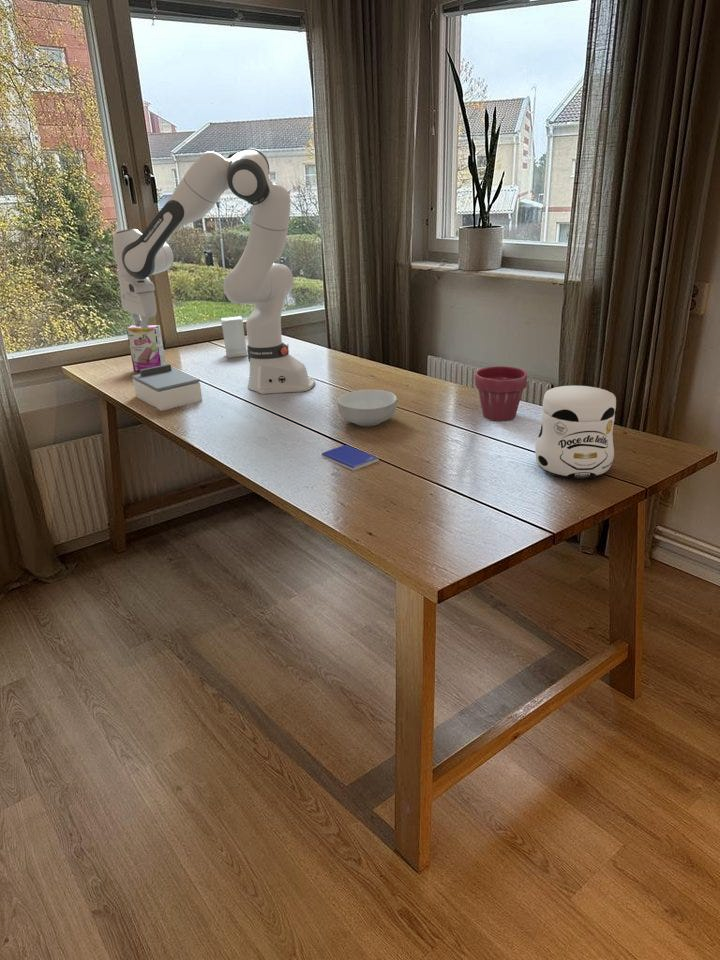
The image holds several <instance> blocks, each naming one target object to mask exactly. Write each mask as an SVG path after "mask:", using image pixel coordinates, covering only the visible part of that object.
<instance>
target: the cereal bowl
mask: <svg viewBox="0 0 720 960" xmlns="http://www.w3.org/2000/svg"><path fill="white" fill-rule="evenodd" d="M397 406H398V398H397V396H396V394H395V393H393V392H391V391H388V390H383V389H370V388H369V389H357V390H354V391H353V390H352V391H349V392H345V393H343V394H342V395H340V396H339V397H337V409H338V413H339V414H340V415H341V417H342V418H343V419H344V420H346V421H347V422H349V423H353V424H355V425H357V426H359V427H374V426H375V427H376V426H378V425H380V424H381V423H383V422H386V421H388V420H390V418H392V417H393V416H394V414H395V413H396V411H397Z"/></svg>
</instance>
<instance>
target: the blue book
mask: <svg viewBox="0 0 720 960" xmlns="http://www.w3.org/2000/svg"><path fill="white" fill-rule="evenodd" d="M321 457H322V458H324V459H326V460H328V461H331V462H333V463H335V464H338V465H340V466H342V467H345V468H347V469H349V470H351V471H352V472H353V471H357V470H359V469H361V468H364V467H367V466H369V465H372V464H375V463H377V462H380V461H379V460H380V459H379V457H377V456H375V455H372V454H370V453H367V452H364V451H362V450H360V449H357V448H354V447H353V446H349V445H347V444H345V445H342V446H339V447H335V448H332V449H330V450H327V451H323V452H322V453H321Z"/></svg>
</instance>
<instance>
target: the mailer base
mask: <svg viewBox="0 0 720 960" xmlns="http://www.w3.org/2000/svg"><path fill="white" fill-rule="evenodd" d="M132 383H133V387H134V395H135V397H136V398H138V399H140V400H141V401H143V402H144V403H146V404H148V405H150V406H151V407H153V406H154V407H153V408H155V407H156V408H155V409H157V410H158V411H161V412H162V411H166V410H169V409H174V407H175V408H178V406H179V407H182V405H183V406H186V404H187V405H190V403H191V404H194V402H195V403H198V401H199V402H203V395H202V388H201V382H196V383H191V384H187V385H182V386H178V387H174V388H169V389H165V390H160V391H157V390H155V389H153V388H151V387H149V386H147V385H145V384H143V383H141V382H139V381H137V380H135V379H133V378H132Z"/></svg>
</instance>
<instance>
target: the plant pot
mask: <svg viewBox="0 0 720 960" xmlns="http://www.w3.org/2000/svg"><path fill="white" fill-rule="evenodd" d="M474 386H475V388H476V389H478V395H479V396H478V397H479V401H480V406H481V407H480V408H481V411H482V416H483V418H484V419H487V420H489V421H493V422H506V421H511V420H513V419H515V418H516V415H517V411H518V408H519V406H520V402H521V398H522V394H523V391H524V389H526V388H527V386H528V373H527V371H526V370H525V369H521V368H518V367H514V366H506V365H505V366H503V365H500V366H499V365H498V366H497V365H495V366H489V367H483V368H480V369H478V370H476V371H475V374H474Z"/></svg>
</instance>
